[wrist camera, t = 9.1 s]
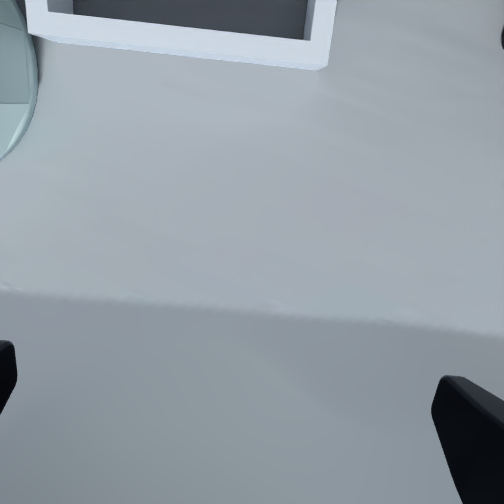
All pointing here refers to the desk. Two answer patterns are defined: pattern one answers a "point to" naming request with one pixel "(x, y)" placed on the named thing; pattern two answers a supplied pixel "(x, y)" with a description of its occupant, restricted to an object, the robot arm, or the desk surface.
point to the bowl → (15, 76)
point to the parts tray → (187, 36)
